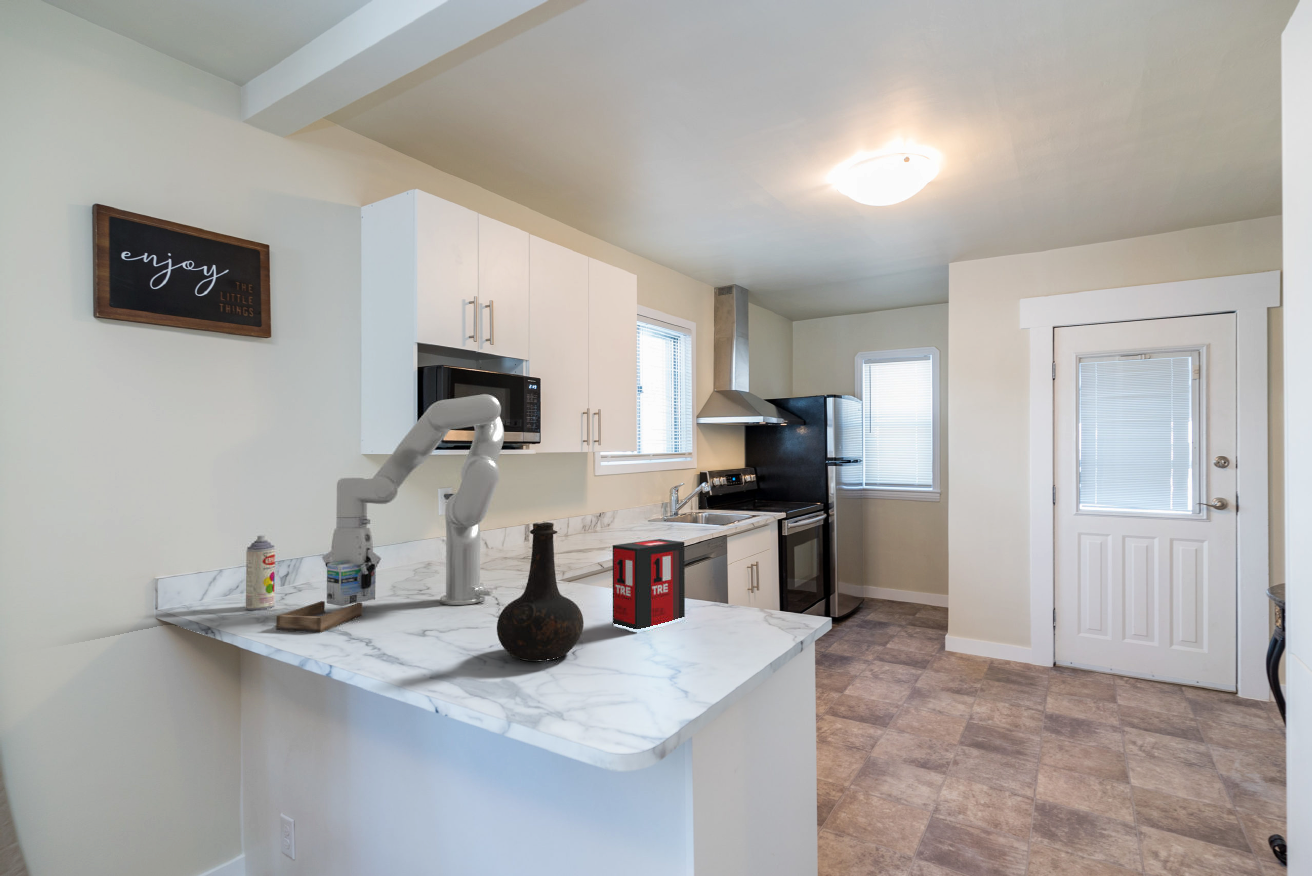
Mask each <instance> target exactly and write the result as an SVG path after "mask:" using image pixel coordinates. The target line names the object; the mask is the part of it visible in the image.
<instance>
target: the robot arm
mask: <svg viewBox="0 0 1312 876" xmlns="http://www.w3.org/2000/svg"><path fill="white" fill-rule="evenodd" d="M501 411H502V405H501V403H500V401H499V400H498V398H496V397H495V396H493V395H490V394H486V393H483V394H478V395H470V396H464V397H463V396H462V397H457V398H449V399H441V400H438V401H436V402H434V403H432V404H431V405H430V406H429V407H428V408H427V409H426V411H425V412H424V413H423V415H421V417H420V418H419V419H418V421H417V422H416V423H415V424H414V425H413V426H412V428H411V429H410V430H409V432H408V433H406V435H405V436H404V437H403V438H402V440H401V441H400V443H399V444H398V445H397V446H396V448H395V450H394V451H393V452H392V453H391V455H390V456H389V457H388V458H387V460H386V461H385V462H384V463H383V465H382V466H381V467H380V468H379V470H378V471H377V472H376V473H375V474H374V475H373V477H372V478H364V477H342V478H340V479H338V481H336V512H335V513H336V525H335V526H336V527H335V528H334V530H333V533H332V534H333V535H332V539H331V549H330V551H328V552H327V553H326V554H325V555H323V556H322V560H323V562H324V564H325V567H326V568H327V564H328V563H353V564H355V565H356V566H360V568H361V570H362V571H363V573H364V574H362V575H361V588H362V589H366V588H369V587H371V573H372V572H373V571H374V569H375V568H377V567H378V564H379V563H380V561H381V559H382V557H381V556H379V555H378V554H376V553H375V552H374V545H373V538H372V537H373V536H372V532H371V528H370V527H367V526H368V525H369V524H371V519H369V518H368V504H375V505H387V504H390V503H391V502H392V501H394V500H395V498H397V495H398V493H399V492H398V491H399V489H400V487H401V486H402V485H403V484H404V482H405V481H406V479H407V478H408V477H409V476H410V475H411V474H412V473H413V472H414V471H415V470H416V469H417V468H418V467H420V465H422V464H423V463H424V462H425V461H426V460H428V458H429V457H430V456H431V455H432V453H433V452H434V451H435V449H436V448H437V447H438V446H439V444H440V443H441V442H442V440H443V439H444V438H445V437H446V436H447V434H448V433H449V432H450V431H451V430H457V429H464V428H470V427H474V435H473V440H472V443H471V444H470V445H471V446H470V449H469V451H468V453H467V456H466V458H465V459H464V460H465V461H464V462H463V464H462V467H461V470H460V478H461V480H462V481H461V483H460V485H459V488H458V491H457V492H455V493H453V494H452V495H451V496H450V497H449V498H448V499H447V501H446V503H445V508H444V509H445V510H444V517H445V533H446V534H445V535H446V536H445V537H446V538H445V540H446V541H445V544H446V545H445V594H444V595H442V596H441V597H440V598H439V599H440V600H439V601H440V603H441V604H442V605H443V604H444V605H450V606H465V605H473V604H478V603H481V602H484V601H485V600H486V596H487V597H492V595H493V589H492V588H491V587H488V588H487V587H486V588H485V587H484V583H481V525H480V523H481V522H482V521H483V520H484V519H485V516H486V514H487V512H488V510H489V508H490V505H491V502H492V499H493V497H494V495H495V491H496V490H497V485H498V483H499V479H500V469H499V467H498V464H497V462H498V459H499V457H500V454H501V451H502V447H503V444H504V440H505V428H504V425H503V420H502V419H501V416H500V415H501V413H502V412H501ZM369 562H370V563H371V562H372V564H371V565H370V563H369ZM365 565H366V566H365Z"/></svg>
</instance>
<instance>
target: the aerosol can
mask: <svg viewBox="0 0 1312 876" xmlns="http://www.w3.org/2000/svg"><path fill="white" fill-rule="evenodd" d="M246 548H247V549H246V553H245V556H246V558H245V559H246V560H245V561H246V563H245V564H246V565H245V568H246V570H245V610H246V611H249V610H258V611H262V610H261V609H265V610H268V609H267V608H270V609H272V608H271V607H273V608H274V607H275V586H276V585H275V580H276V579H275V578H276V577H275V575H276V574H275V572H276V571H275V569H276V561H275V560H276V548H275V545H273V544H272V543H271V542H270V541H268V540H267V539H266V538H265V535H264V534H263V535H262V534H259V535H257V538H256V539H255V540H254V542H251V544H250V546H247V547H246Z"/></svg>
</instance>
